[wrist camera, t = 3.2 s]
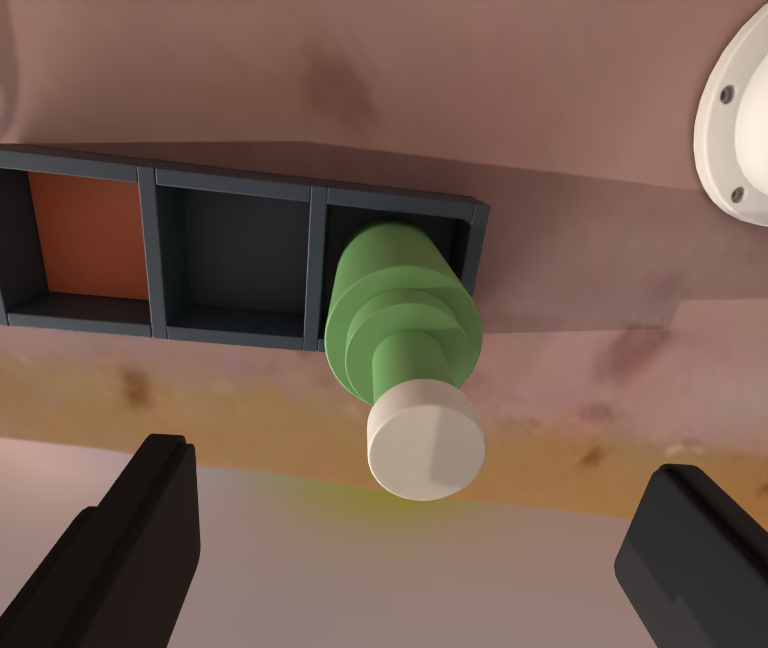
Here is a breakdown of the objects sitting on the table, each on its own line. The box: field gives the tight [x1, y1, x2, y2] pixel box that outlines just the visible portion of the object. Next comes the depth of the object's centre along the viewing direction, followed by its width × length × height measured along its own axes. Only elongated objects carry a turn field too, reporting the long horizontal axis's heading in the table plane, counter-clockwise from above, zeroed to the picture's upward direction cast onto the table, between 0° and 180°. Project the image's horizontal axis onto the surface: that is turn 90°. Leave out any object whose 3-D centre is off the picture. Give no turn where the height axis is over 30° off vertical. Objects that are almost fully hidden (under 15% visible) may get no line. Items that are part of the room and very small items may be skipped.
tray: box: [0, 143, 490, 352], centre depth 24 cm, size 25×9×4 cm, turn 83°
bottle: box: [325, 216, 486, 500], centre depth 18 cm, size 6×6×17 cm
